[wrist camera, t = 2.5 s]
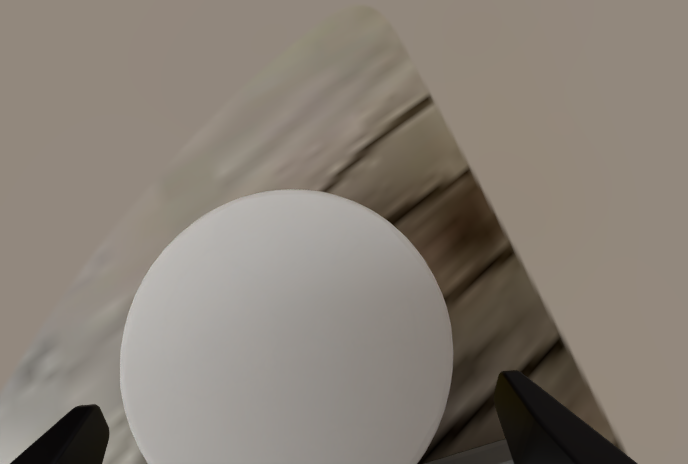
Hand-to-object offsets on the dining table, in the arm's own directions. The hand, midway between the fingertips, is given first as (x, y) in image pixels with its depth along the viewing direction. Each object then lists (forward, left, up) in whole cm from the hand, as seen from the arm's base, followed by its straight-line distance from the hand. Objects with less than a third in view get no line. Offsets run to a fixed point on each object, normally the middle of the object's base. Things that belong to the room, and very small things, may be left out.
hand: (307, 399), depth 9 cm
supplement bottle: (+1, +1, -9) cm, 9 cm away
